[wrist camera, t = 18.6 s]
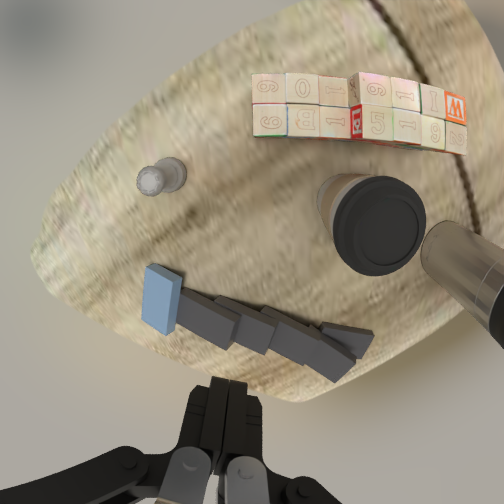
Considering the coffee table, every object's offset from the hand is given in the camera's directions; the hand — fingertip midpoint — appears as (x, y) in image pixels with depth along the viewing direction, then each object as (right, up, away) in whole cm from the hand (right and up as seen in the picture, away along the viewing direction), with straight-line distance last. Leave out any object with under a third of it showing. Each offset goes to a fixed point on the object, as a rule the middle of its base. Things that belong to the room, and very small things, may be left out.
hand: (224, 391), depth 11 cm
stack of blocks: (+12, +23, +20) cm, 33 cm away
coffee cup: (+13, +13, +24) cm, 30 cm away
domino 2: (-4, -3, +29) cm, 29 cm away
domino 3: (+2, -4, +29) cm, 30 cm away
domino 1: (-9, -2, +29) cm, 30 cm away
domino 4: (+8, -7, +30) cm, 32 cm away
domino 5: (+11, -7, +31) cm, 33 cm away
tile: (-11, +3, +26) cm, 28 cm away
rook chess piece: (-9, +16, +23) cm, 30 cm away
